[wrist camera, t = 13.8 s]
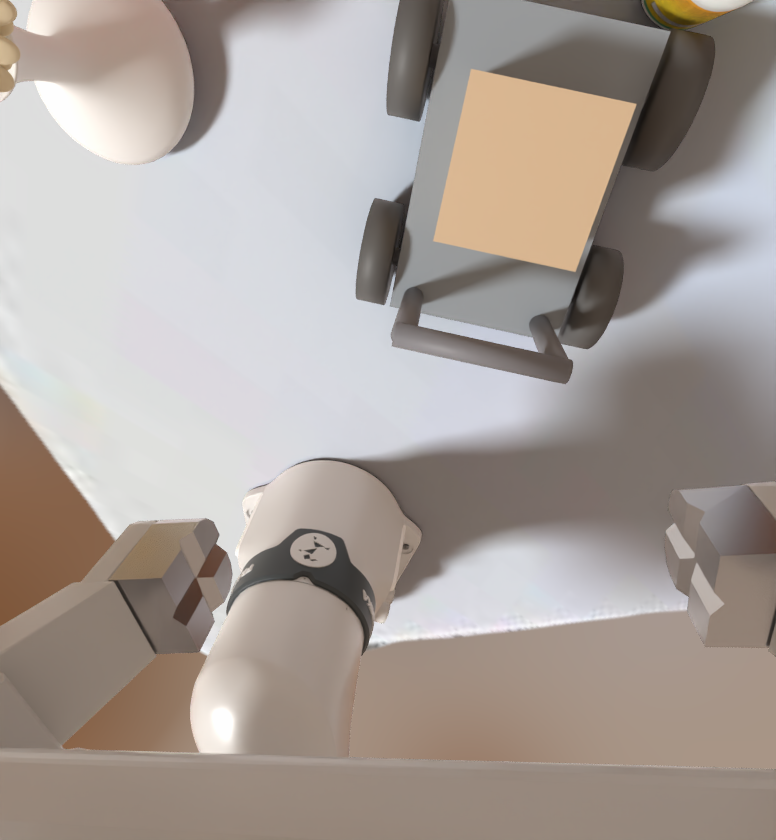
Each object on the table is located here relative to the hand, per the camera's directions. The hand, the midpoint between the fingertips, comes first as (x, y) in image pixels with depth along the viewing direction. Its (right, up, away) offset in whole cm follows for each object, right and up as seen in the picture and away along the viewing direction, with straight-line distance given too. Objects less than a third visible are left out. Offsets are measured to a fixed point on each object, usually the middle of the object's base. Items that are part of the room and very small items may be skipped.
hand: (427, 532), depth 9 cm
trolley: (+8, +19, +28) cm, 34 cm away
